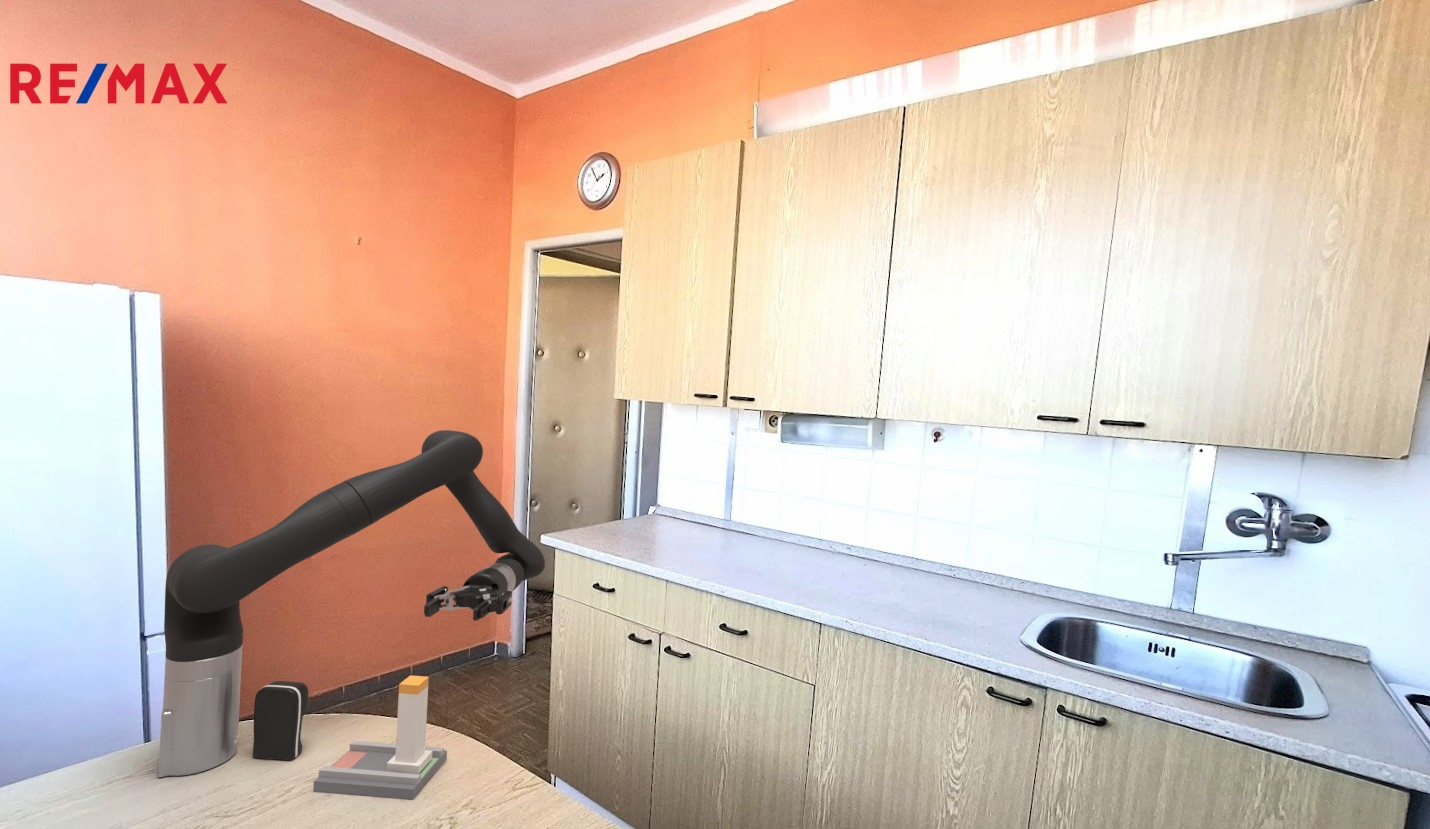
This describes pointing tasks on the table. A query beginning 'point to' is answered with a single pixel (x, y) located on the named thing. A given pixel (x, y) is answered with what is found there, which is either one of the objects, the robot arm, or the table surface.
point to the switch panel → (375, 772)
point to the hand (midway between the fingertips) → (451, 613)
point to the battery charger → (279, 719)
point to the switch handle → (411, 727)
